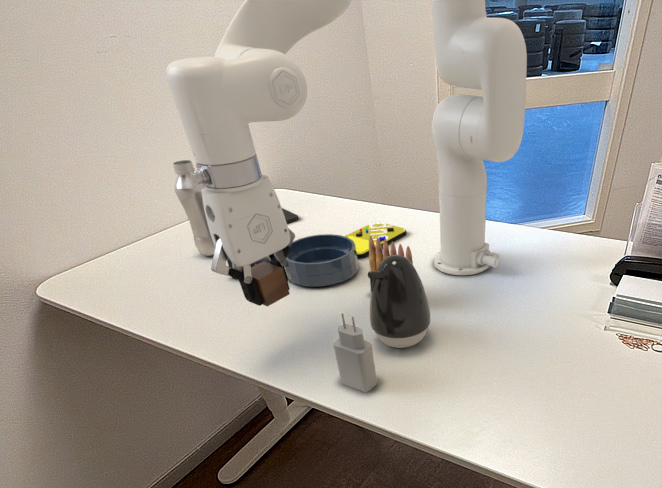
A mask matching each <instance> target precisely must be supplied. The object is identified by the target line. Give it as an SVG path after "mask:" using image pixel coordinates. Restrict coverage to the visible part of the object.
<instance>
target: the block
mask: <svg viewBox="0 0 662 488" xmlns="http://www.w3.org/2000/svg"><path fill="white" fill-rule="evenodd" d="M251 273H252V280H254V281H256V282H257V285H258V288H259V291H260V294H261V297H262V300H263V304H262V305H263V306H265V307H270V306H271V305H273V304H275V303H277V302H279V301H280V300H282V299H284V298H286V297H287V296H289V295H290V290H288V286H287V282H286V279H285V275H284V272H283V268H281V267H278V266H275V265H273V264H270V263H267V262H264V261H263V262H261V263H259V264H257V265H255V266H253V267H251ZM262 305H261V306H262Z"/></svg>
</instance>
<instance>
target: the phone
mask: <svg viewBox="0 0 662 488" xmlns="http://www.w3.org/2000/svg"><path fill="white" fill-rule="evenodd" d="M281 208H282V210H283V213H284V216H285V219H286V222H287V224H289V223H292V222H294V221H299V215H298V214H296V213H294V212H292V211H290V210H287V209H285V208H283V207H281Z"/></svg>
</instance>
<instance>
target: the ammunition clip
mask: <svg viewBox="0 0 662 488" xmlns="http://www.w3.org/2000/svg"><path fill="white" fill-rule="evenodd" d="M391 255H401V256H404V257H406V258H407V259H408V260H409V261H410V262H411V263H412V265H413V266H414V261H413V253H412V250H411V247H410V246H409V245H407V247H406V249H405V252H404V248H403V245H402V244H401V243H399V244H398V247H397V248H396V245H395V242H392V243H391V244H390V247H389V245H388V244H387V241H386V240H384V243H383V248H382V246H381V242H380V240H379V238H377V240H376V250H375V244H374V241H373V238H372V236H370V237H369V256H368V262H369V270H370V271H377V269H378V267H379V265H380V263H381V262H382V261H383V260H384V259H385V258H386V257H388V256H391ZM373 282H374V279H370V278H369V285H370V292H371V291H372V286H373Z"/></svg>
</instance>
